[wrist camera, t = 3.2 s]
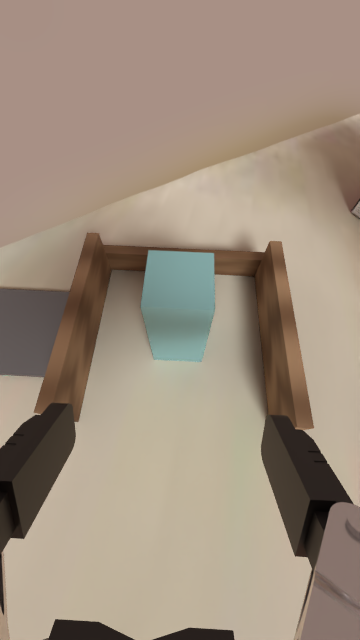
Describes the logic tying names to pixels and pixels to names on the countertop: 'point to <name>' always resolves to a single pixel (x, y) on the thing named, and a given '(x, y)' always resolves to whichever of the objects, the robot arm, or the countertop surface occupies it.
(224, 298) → the countertop surface
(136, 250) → the lane
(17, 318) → the pad
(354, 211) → the candy bar box
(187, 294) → the teal block
